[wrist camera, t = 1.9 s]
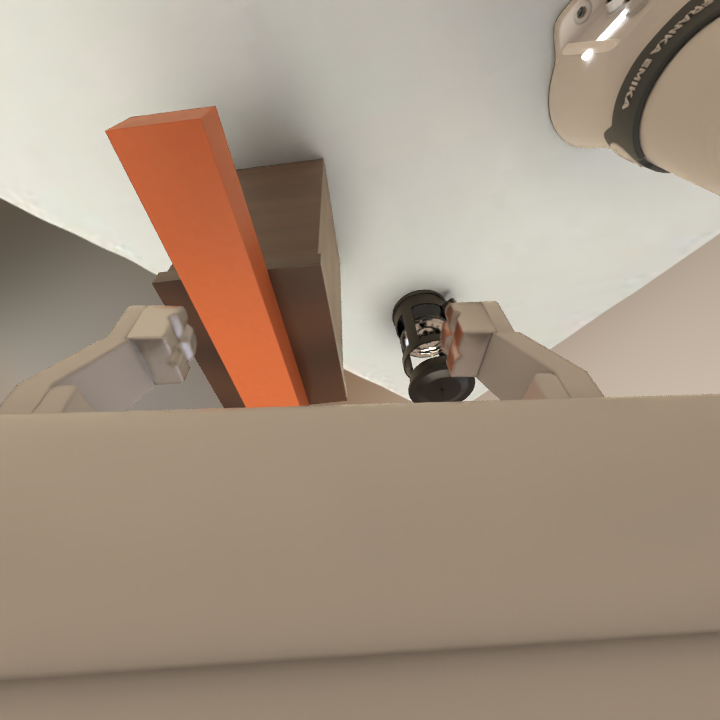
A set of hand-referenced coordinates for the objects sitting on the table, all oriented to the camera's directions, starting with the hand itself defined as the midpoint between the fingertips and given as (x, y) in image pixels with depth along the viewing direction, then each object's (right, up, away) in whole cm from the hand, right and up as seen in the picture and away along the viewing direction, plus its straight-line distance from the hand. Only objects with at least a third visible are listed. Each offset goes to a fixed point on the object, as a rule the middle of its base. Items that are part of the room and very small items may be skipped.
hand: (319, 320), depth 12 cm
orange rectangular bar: (-7, +3, +16) cm, 17 cm away
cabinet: (-8, +17, +38) cm, 42 cm away
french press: (+12, +7, +49) cm, 51 cm away
